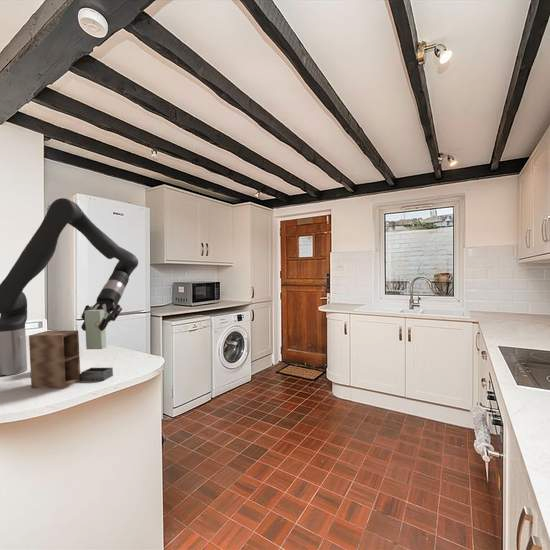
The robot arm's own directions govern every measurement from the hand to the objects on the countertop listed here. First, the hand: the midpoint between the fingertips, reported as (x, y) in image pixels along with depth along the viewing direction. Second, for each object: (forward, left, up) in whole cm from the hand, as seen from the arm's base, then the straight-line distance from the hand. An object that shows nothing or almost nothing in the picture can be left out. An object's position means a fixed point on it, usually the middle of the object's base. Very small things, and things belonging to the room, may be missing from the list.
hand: (92, 329), depth 110 cm
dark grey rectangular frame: (0, +2, -18) cm, 18 cm away
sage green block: (0, +2, -7) cm, 8 cm away
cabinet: (-11, -4, -18) cm, 22 cm away
